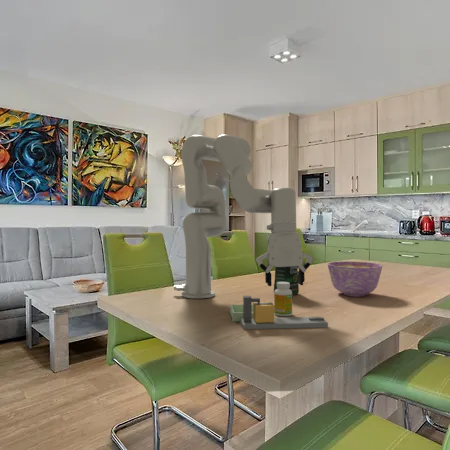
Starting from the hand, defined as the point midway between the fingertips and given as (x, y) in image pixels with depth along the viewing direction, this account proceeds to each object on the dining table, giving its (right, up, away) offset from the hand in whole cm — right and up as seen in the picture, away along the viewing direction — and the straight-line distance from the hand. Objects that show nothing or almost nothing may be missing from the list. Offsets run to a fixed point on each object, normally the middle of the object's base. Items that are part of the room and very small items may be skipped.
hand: (285, 285), depth 111 cm
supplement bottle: (0, -9, +1) cm, 9 cm away
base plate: (-2, -9, -10) cm, 14 cm away
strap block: (-8, -8, -11) cm, 15 cm away
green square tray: (-11, -9, -2) cm, 15 cm away
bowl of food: (+32, -9, +30) cm, 44 cm away
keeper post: (-11, -9, -11) cm, 18 cm away
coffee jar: (+6, -9, +30) cm, 32 cm away
